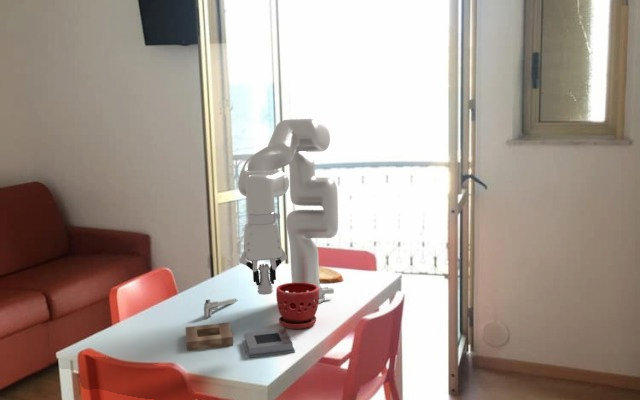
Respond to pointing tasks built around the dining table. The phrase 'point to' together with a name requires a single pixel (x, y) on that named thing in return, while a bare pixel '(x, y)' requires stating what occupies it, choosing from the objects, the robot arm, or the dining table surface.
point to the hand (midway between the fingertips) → (264, 282)
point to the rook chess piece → (264, 280)
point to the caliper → (215, 306)
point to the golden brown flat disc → (329, 276)
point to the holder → (267, 343)
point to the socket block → (208, 336)
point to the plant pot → (297, 304)
